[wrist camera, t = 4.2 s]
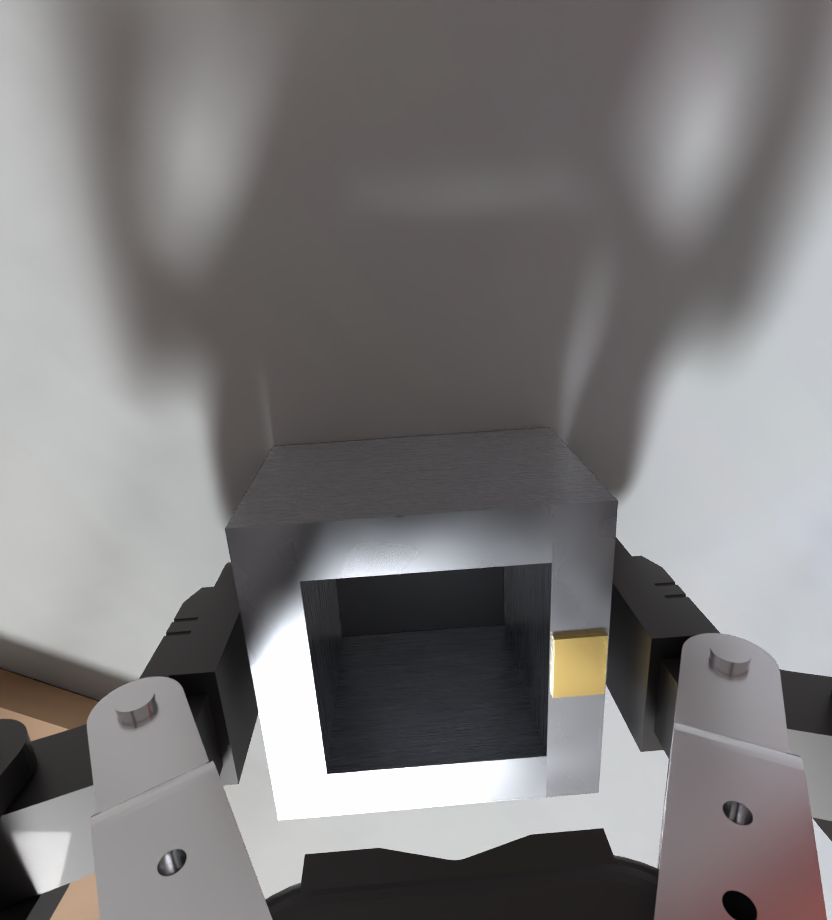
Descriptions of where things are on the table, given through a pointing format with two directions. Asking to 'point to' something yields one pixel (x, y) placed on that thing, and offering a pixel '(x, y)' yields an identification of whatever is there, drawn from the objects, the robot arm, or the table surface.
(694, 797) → the robot arm
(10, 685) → the tan square baseplate
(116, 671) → the table surface
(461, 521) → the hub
